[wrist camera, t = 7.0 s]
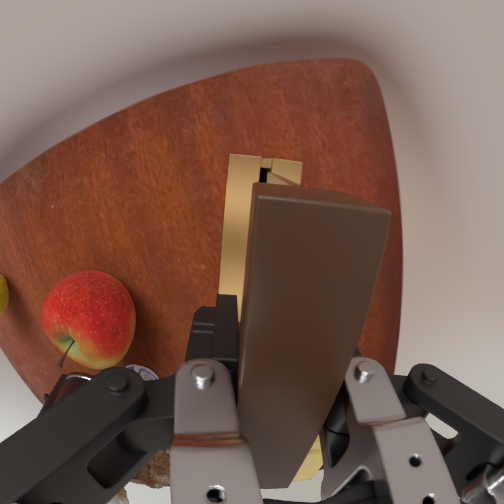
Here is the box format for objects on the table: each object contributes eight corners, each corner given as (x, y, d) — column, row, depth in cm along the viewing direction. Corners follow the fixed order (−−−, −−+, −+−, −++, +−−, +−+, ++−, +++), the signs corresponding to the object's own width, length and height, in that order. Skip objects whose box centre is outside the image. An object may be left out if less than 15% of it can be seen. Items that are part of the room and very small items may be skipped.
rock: (172, 415, 29) (171, 484, 21) (191, 432, 33) (193, 491, 24) (114, 417, 30) (107, 477, 21) (137, 433, 33) (134, 487, 24)
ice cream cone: (112, 456, 35) (97, 517, 21) (106, 443, 33) (87, 510, 19) (140, 463, 35) (128, 527, 21) (135, 451, 34) (121, 521, 20)
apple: (163, 287, 23) (128, 361, 14) (128, 341, 25) (96, 413, 16) (92, 236, 21) (24, 284, 12) (67, 298, 23) (15, 355, 14)
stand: (272, 298, 24) (278, 324, 21) (219, 295, 24) (217, 320, 20) (291, 161, 20) (303, 162, 17) (230, 154, 20) (229, 153, 16)
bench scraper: (269, 336, 17) (288, 488, 7) (235, 334, 17) (228, 488, 7) (291, 174, 14) (393, 212, 4) (249, 170, 14) (256, 193, 4)
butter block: (277, 462, 33) (279, 482, 29) (289, 433, 30) (294, 456, 26) (307, 460, 34) (311, 479, 30) (324, 429, 30) (331, 452, 27)
